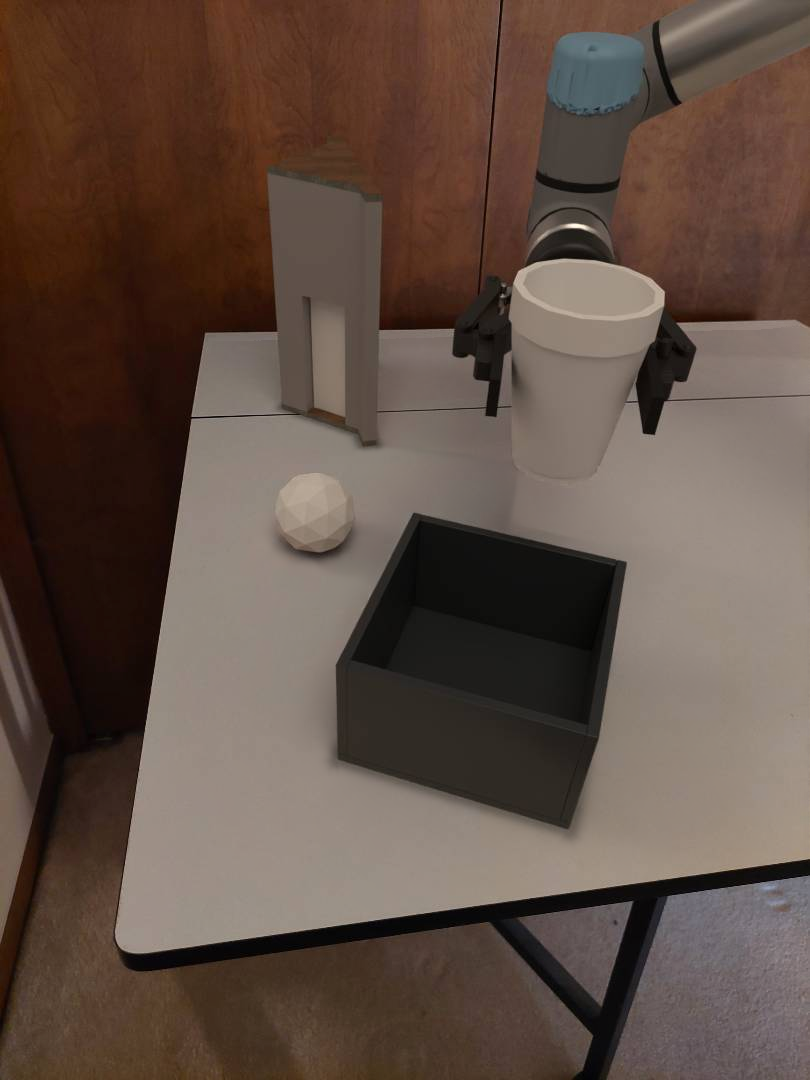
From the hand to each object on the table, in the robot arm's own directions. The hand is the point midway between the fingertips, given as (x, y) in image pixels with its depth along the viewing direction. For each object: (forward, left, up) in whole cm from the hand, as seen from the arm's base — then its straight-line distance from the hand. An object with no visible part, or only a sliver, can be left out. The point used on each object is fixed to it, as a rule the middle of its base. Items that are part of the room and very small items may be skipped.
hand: (572, 407), depth 51 cm
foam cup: (+1, -4, -7) cm, 8 cm away
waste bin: (+3, +4, -26) cm, 27 cm away
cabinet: (+32, -35, -26) cm, 54 cm away
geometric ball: (+23, -10, -26) cm, 36 cm away
